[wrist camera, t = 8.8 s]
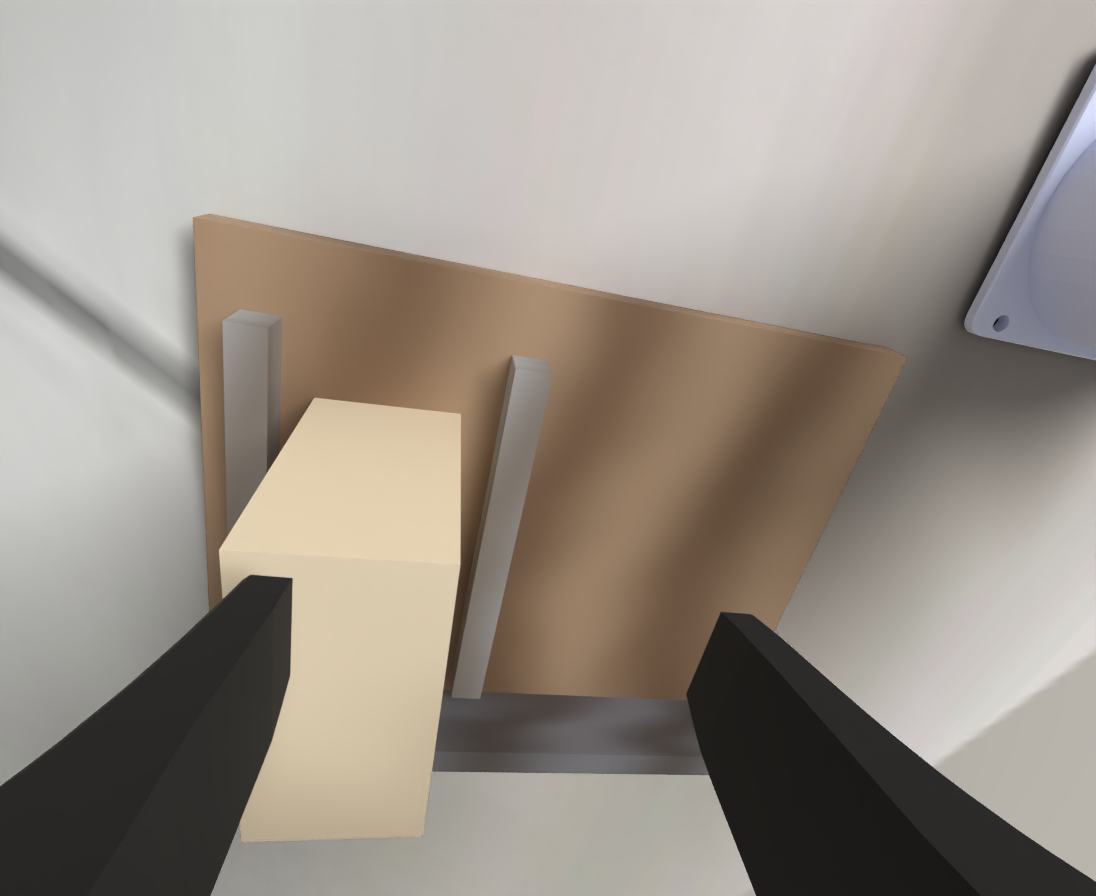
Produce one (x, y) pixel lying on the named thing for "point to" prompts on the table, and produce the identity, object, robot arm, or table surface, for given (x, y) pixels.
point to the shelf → (548, 471)
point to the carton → (355, 616)
